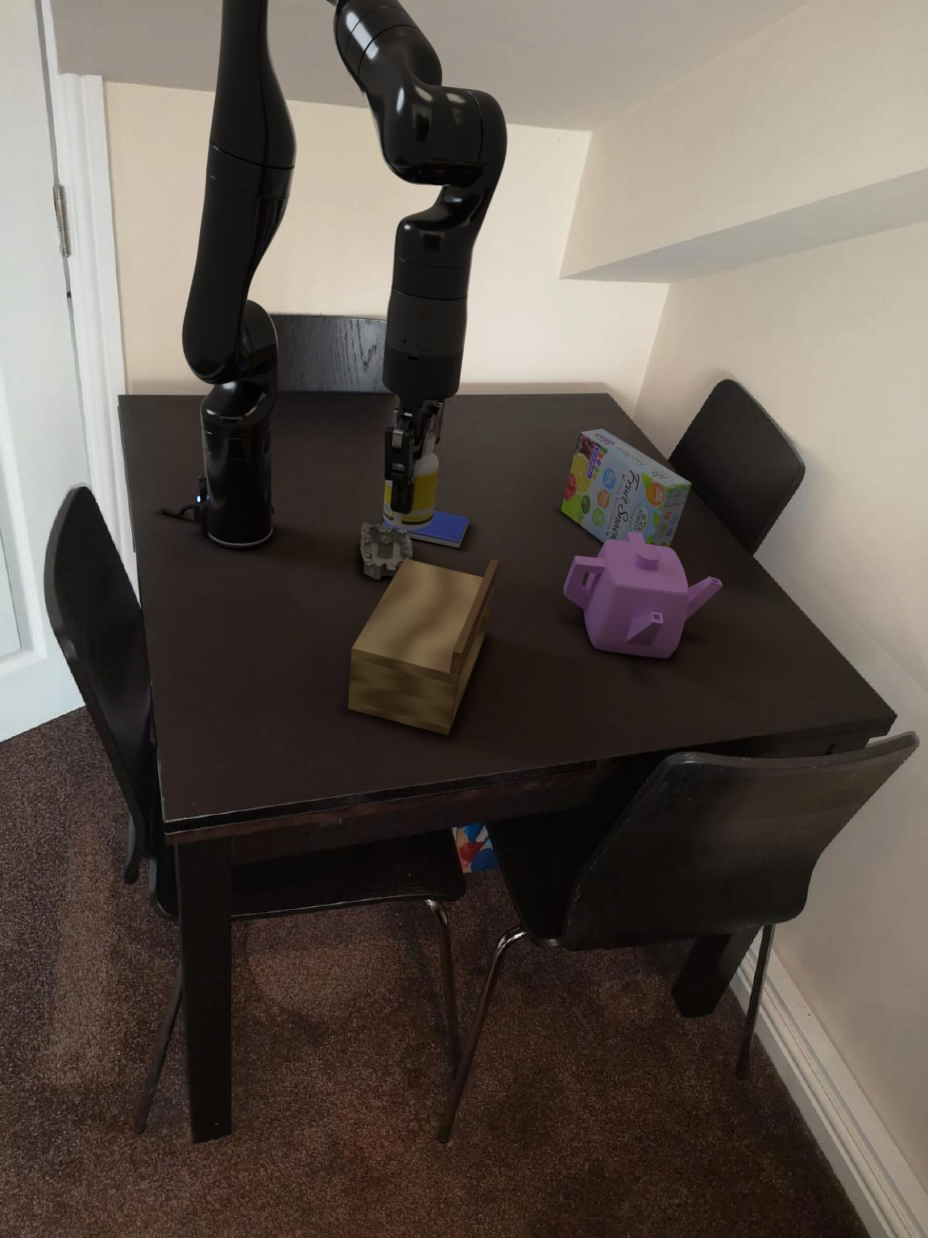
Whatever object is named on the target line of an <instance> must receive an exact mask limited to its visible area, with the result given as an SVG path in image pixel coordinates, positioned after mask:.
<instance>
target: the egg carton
mask: <svg viewBox="0 0 928 1238" xmlns="http://www.w3.org/2000/svg"><path fill="white" fill-rule="evenodd" d="M382 525H383V524H378V523H376V524H375V525H374V524H371V523H368V522H366V521H363V522H362V525H361V532H360V554H361V557H362V562H363V563H364V564H363V574H364V575H366V576H368V577H371V578H372V579H373V580H381V578H382V577H387V576H388V577H389V576H390V577H393V578H394V577H395V575H396V573H397V572H398V570H399V568H400V567H401V565H402V563H403V562H404V560H405V559H409V560H413V542H412V540H411V539H412V538H409V536H407V531H406V529H401V530H397V529H395V527H394V526H391V527H388V526H385V525H383V526H382Z"/></svg>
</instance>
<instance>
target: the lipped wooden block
mask: <svg viewBox="0 0 928 1238" xmlns="http://www.w3.org/2000/svg"><path fill="white" fill-rule="evenodd" d="M499 563H500V560H498V559H495V558H490V561H489V564H488V565H487V568H486V571H485V573H484V576H478V575H475V574H470V573H467V572H462V571H458V570H454V569H450V568H445V567H442V566H437V565H433V564H429V563H425V562H421V561H416V560H413V559H412V560H409V559H405V560H404V562H403V563H402V565H401V567H400V568H399V570H398V572H397V573H396V575H395V577H393V578H392V580H391V582H390V583H389V585H388V587H387V588H386V590H385V592H384V594H383V595H382V596H381V599H380V600H379V602H378V604H377V605H376V607H375V609H374V610H373V612H372V613H371V615H370V617H369V618H368V620H367V621H366V623H365V625H364V627H363V629H362V630H361V632H360V634H359V635H358V637H357V639H356V640H355V641H354V644H353V646H352V647H351V655H350V670H349V671H350V673H349V687H348V689H349V692H348V705H347V709H348V710H350V711H354V712H359V713H362V714H366V715H369V716H373V717H377V718H381V719H385V720H388V721H391V722H396V723H398V724H399V723H400V724H402V725H403V724H404V725H406V726H411V727H415V728H419V729H422V730H426V731H430V732H433V733H437V734H440V735H445V736H449V734H450V732H451V729H452V728H453V727H452V726H453V724H454V721H455V718H456V716H457V713H458V711H459V707H460V706H461V702H462V699H463V697H464V695H465V691H466V689H467V686H468V683H469V681H470V678H471V675H472V672H473V670H474V667H475V665H476V662H477V659H478V656H479V654H480V651H481V648H482V646H483V643H484V640H485V637H486V634H487V629H488V628H487V627H488V622H489V616H490V613H491V612H490V610H491V607H492V601H493V595H494V589H495V584H496V578H497V574H498V569H499Z"/></svg>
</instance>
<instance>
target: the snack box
mask: <svg viewBox="0 0 928 1238" xmlns="http://www.w3.org/2000/svg"><path fill="white" fill-rule="evenodd" d="M577 438H578V439H577V442H576V447H575V452H574V455H573V460H572V464H571V467H570V473H569V475H568V480H567V484H566V489H565V493H564V497H563V501H562V506H561V510H560V511H561V512H562V513H563V514H564V515H566V516H567V517H568V518H569V519H571V520H572V521H574V522H575V523H576V524H577V525H579V526H581V528H583V529H584V530H586V531H587V532H588V533H590V534H591V535H592V536H593V537H595V538H596V539H598V540H599V541H600V542H601V543H603V544H604V543H605V541H606V540H620V541H624V540H625V537H626V534H627V531H628V532H635V533H641V534H642V535H643V538H644V542H645V544H650V545H657V546H663V547H668V548H671V546H672V542H673V539H674V536H675V533H676V530H677V527H678V524H679V522H680V518H681V516H682V513H683V509H684V507H685V504H686V502H687V498H688V496H689V492H690V490H691V487H692V482H690V481H689V480H687V479H686V478H684V477H682V476H680V475H679V474H677V473H676V472H674V471H672V470H670V469H669V468H667V467H666V466H664V465H663V464H661V463H660V462H657V461H656V460H654V459H653V458H651V457H649V456H648V455H646V454H645V453H643V452H641V451H639V450H638V449H636V448H635V447H633V446H632V445H630V444H628V443H626V442H625V441H623V440H622V439H621V438H618V437H616V436H615V435H614V434H612V433H610V432H609V431H607V430H606V429H604V428H597V429H591V430H590V429H589V430H585V431H580V432H579V435H578V437H577Z"/></svg>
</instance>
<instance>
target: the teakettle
mask: <svg viewBox="0 0 928 1238" xmlns="http://www.w3.org/2000/svg"><path fill="white" fill-rule="evenodd" d="M585 573H589V574H588V577H587V579H586V583H585V585H583V582H584V578H585ZM722 588H723V583H722V581H721V580H720V579H719V578H715V577H713V576H709V575H708V577H706V578H705V579H703V580H701V581H699V582H697V583H695V584H693V585H691V586H690V587H689V584H688V580H687V575H686V573H685V569H684V567H683V564H682V562H681V560H680V558H679V556H678V555H677V553H676V551H675V550H674V549H673V548H671V547H670V548H668V547H663V546H657V545H650V544H645V542H644V538H643V535H642V534H641V533H635V532H628V531H627V534H626V537H625V540H624V541H620V540H606V541H605V543H603V545H602V546H601V548H600V550H599V551H598V554H597V556H596V557H593V556H583V555H574V557H573V560H572V563H571V566H570V568H569V570H568V573H567V576H566V578H565V582H564V584H563V588H562V589H563V596H564V597H566V598H567V599H568V600H569V601H571V602H572V603H574V604H575V605H577V606H578V607H579V608H581V609H582V610H583V617H584V625H585V628H586V631H587V634H588V638H589V640H590V643H591V645H592V646H593V647H594V649H596V650H600V651H604V652H609V653H614V654H615V653H617V654H623V655H630V656H638V657H647V658H657V659H668V658H670V657H671V656H672V655H673V653H674V652H675V651H676V650H677V648H678V646H679V644H680V641H681V637H682V635H683V634H682V633H683V630H684V626H685V622H686V621H687V620H688V619H689V618H690V617H691V616H692V615H694V614H695V612H697V611H698V610H699V609H700V608H701V607H702V606H703V605H704V604H706V602H707V601H709V600H710V599H711V598H712V597H713V596H714V595H715V594H716V593H717V592H718V591H719V590H720V589H722Z"/></svg>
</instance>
